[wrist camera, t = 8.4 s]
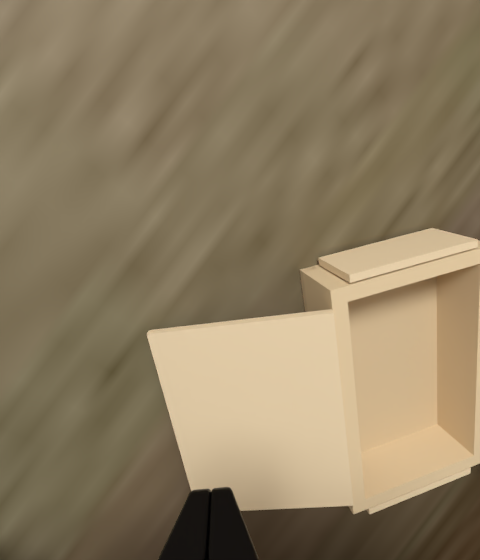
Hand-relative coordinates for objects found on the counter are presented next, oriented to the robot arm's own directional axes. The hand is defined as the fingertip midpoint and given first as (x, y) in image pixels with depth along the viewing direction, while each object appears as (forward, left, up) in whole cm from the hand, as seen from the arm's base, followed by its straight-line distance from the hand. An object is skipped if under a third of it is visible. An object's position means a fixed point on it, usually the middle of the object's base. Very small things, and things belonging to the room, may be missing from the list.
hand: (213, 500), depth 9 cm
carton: (+1, -11, -13) cm, 16 cm away
